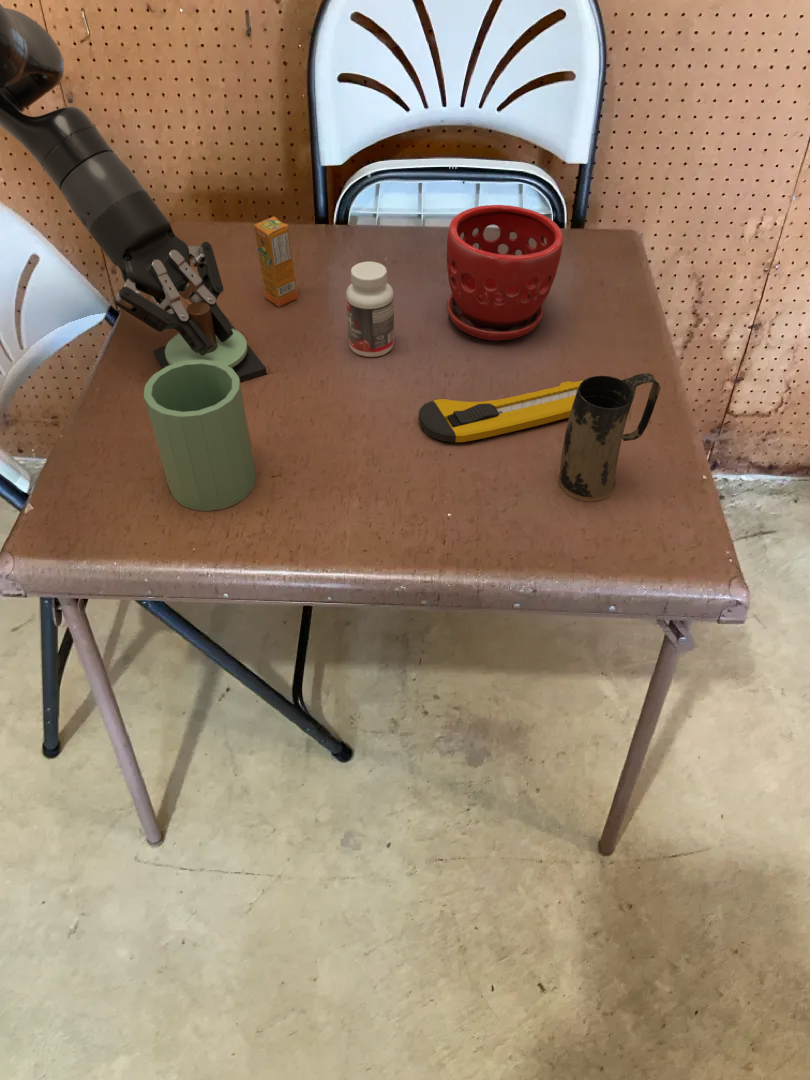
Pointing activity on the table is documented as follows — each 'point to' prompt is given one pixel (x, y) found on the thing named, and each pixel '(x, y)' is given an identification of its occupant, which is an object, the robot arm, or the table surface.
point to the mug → (600, 434)
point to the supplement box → (276, 261)
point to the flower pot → (500, 271)
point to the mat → (244, 369)
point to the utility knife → (496, 414)
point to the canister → (201, 433)
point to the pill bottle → (370, 310)
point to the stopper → (221, 351)
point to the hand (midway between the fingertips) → (217, 344)
